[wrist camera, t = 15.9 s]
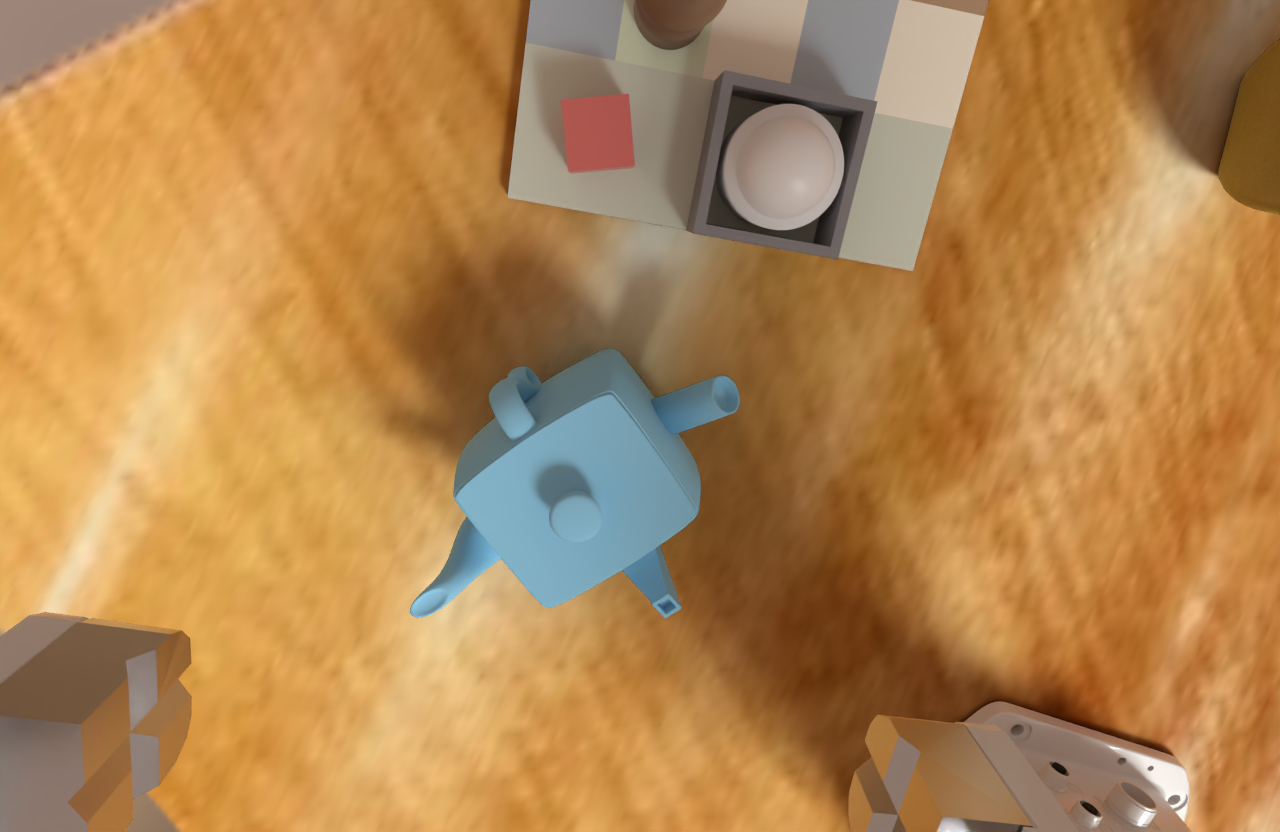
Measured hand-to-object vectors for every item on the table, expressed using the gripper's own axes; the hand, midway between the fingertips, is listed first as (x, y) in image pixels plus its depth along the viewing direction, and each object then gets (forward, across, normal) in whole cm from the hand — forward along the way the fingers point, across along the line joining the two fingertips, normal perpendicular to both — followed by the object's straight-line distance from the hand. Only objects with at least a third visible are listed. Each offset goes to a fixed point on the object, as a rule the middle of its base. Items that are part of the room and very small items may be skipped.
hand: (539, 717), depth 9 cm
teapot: (+31, -1, +8) cm, 32 cm away
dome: (+30, -8, -8) cm, 32 cm away
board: (+31, -6, -11) cm, 34 cm away
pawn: (+30, -1, -14) cm, 33 cm away
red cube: (+30, +1, -8) cm, 31 cm away
